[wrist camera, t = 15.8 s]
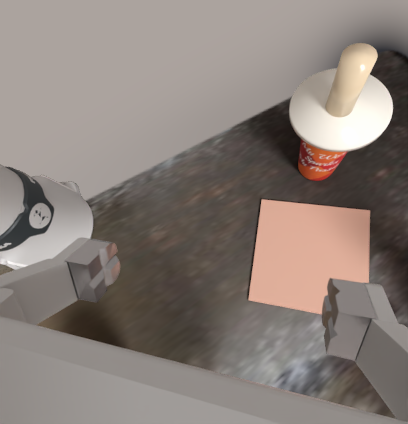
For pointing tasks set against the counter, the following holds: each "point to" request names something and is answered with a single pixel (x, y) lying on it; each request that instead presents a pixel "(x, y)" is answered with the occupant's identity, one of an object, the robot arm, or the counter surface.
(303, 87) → the lid
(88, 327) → the counter surface
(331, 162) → the paper cup
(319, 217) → the mat
